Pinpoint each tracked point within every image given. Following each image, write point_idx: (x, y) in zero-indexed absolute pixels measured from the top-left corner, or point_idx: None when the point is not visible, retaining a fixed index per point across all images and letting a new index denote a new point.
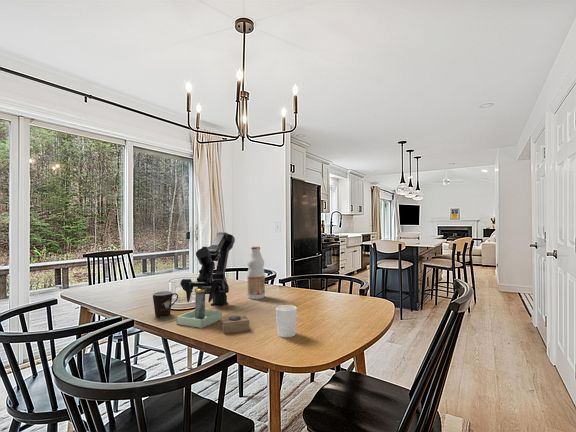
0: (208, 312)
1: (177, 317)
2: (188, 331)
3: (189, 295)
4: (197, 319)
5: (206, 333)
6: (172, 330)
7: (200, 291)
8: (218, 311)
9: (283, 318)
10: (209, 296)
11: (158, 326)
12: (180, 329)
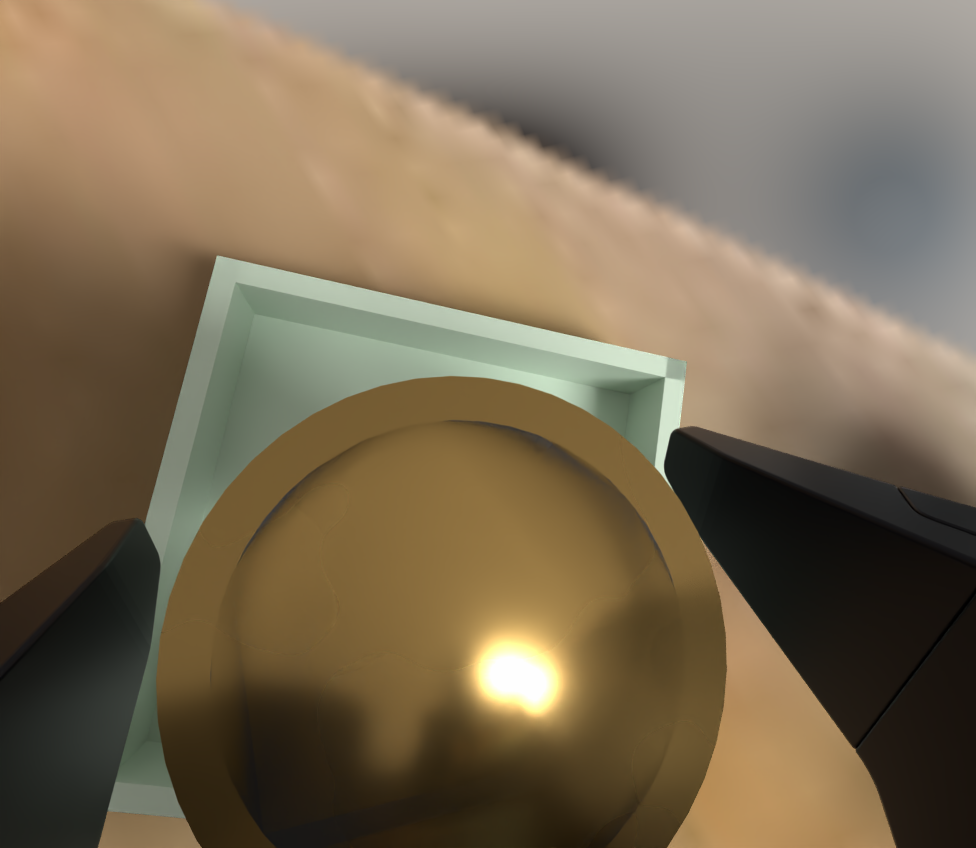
0: None
1: (667, 361)
2: (352, 166)
3: (779, 559)
4: (306, 278)
5: (87, 126)
6: (552, 175)
7: (332, 414)
8: (142, 795)
9: None
10: (63, 590)
11: (778, 272)
12: (483, 215)
